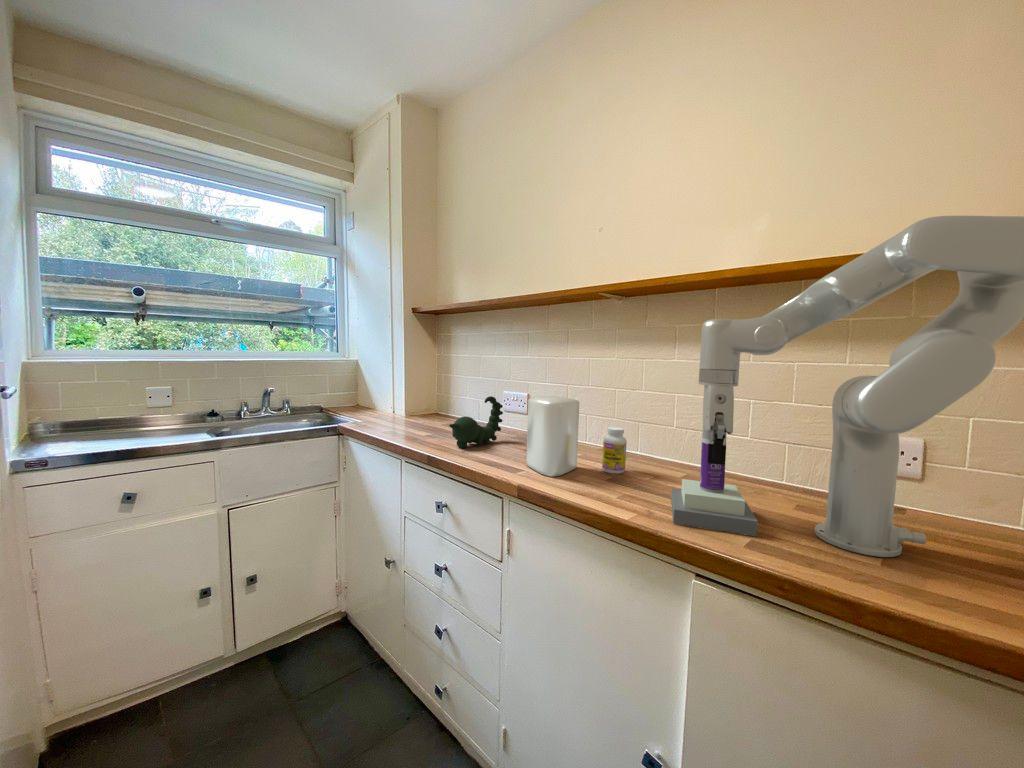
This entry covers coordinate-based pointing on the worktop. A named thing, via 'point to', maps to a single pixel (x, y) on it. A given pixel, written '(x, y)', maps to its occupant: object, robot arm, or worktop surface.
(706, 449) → the container
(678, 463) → the worktop surface
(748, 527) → the tower base
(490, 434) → the toy figurine
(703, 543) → the worktop surface
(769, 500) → the worktop surface
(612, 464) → the supplement bottle
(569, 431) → the white rounded canister
